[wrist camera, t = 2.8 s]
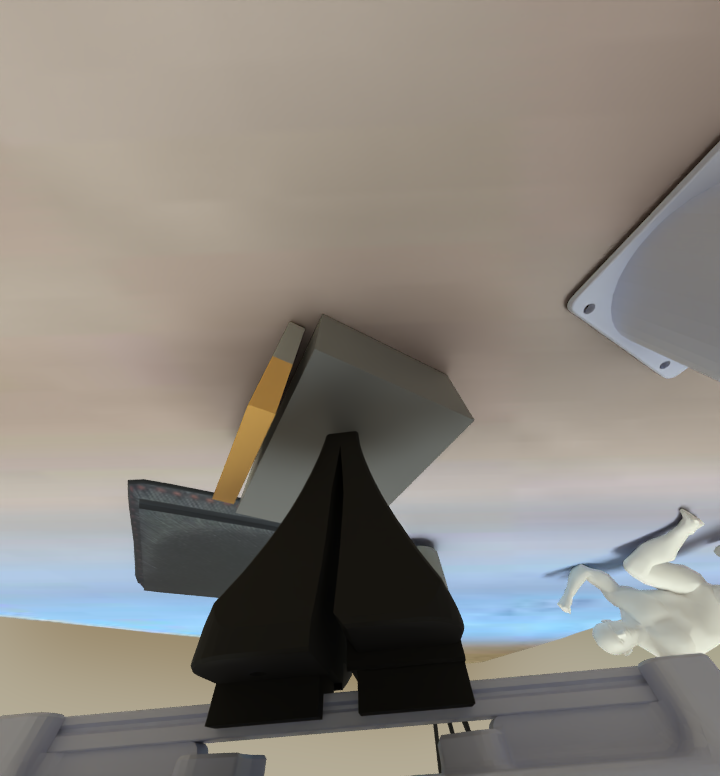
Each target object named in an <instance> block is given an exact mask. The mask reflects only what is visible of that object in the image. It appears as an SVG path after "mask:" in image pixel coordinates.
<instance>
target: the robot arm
mask: <svg viewBox="0 0 720 776" xmlns="http://www.w3.org/2000/svg"><path fill="white" fill-rule="evenodd" d="M588 304H589V306H588V308H587V309H586V310H584V308H585V307H586V306H587V305H588ZM567 308H568V310H569V311H570V312H572V313H573V314H574V315H576V316H577V317H579V318H580V319H581V320H583V321H584V322H586V323H587V324H588V325H590V326H591V327H593V328H594V329H595V330H597V331H598V332H600V333H601V334H602V335H604V336H605V337H607V338H608V339H609V340H611V341H612V342H614V343H615V344H616V345H618V346H619V347H621V348H622V349H623V350H625V351H626V352H628V353H629V354H630V355H632V356H633V357H635V358H636V359H637V360H639V361H640V362H642V363H643V364H644V365H646V366H647V367H649V368H650V369H651V370H653V371H654V372H656V373H657V374H658V375H660V376H662V377H664V378H667V379H668V378H673V377H675V376H677V375H678V374H680V373H681V372H683V371H684V370H685V369H687V368H688V367H689V368H691V369H693V370H695V371H697V372H699V373H702V374H704V375H706V376H708V377H710V378H712V379H714V380H717V381H719V382H720V141H719V142H718V143H717V144H716V145H715V146H714V148H713V149H712V150H711V151H710V152H709V153H708V154H707V155H706V156H705V157H704V158H703V159H702V160H701V161H700V162H699V163H698V164H697V165H696V167H695V168H694V169H693V170H692V171H691V172H690V173H689V174H688V175H687V176H686V177H685V178H684V179H683V180H682V181H681V182H680V183H679V184H678V185H677V187H676V188H675V189H674V190H673V191H672V192H671V193H670V194H669V195H668V196H667V197H666V198H665V199H664V200H663V201H662V202H661V203H660V204H659V206H658V207H657V208H656V209H655V210H654V211H653V212H652V213H651V214H650V215H649V216H648V217H647V218H646V219H645V220H644V221H643V222H642V223H641V224H640V226H639V227H638V228H637V229H636V230H635V231H634V232H633V233H632V234H631V235H630V236H629V237H628V238H627V239H626V240H625V241H624V242H623V243H622V245H621V246H620V247H619V248H618V249H617V250H616V251H615V252H614V253H613V254H612V255H611V256H610V257H609V258H608V259H607V260H606V261H605V262H604V264H603V265H602V266H601V267H600V268H599V269H598V270H597V271H596V272H595V273H594V274H593V275H592V276H591V277H590V278H589V279H588V280H587V281H586V282H585V284H584V285H583V286H582V287H581V288H580V289H579V290H578V291H577V292H576V293H575V294H574V295H573V296H572V297H571V299H570V300H569V302H568V304H567ZM463 631H464V623H463V620H462V618H461V615H460V613H459V610H458V608H457V606H456V604H455V602H454V600H453V598H452V596H451V594H450V593H449V591H448V589H447V587H446V586H445V584H444V582H443V580H442V578H441V577H440V576H439V574H438V573H437V572H436V571H435V570H434V568H433V567H432V566H431V565H430V563H429V562H428V561H427V560H426V558H425V557H424V556H423V555H422V553H421V552H420V551H419V549H418V548H417V547H416V545H415V544H414V543H413V541H412V540H411V539H410V537H409V536H408V534H407V533H406V532H405V530H404V529H403V527H402V526H401V524H400V523H399V521H398V520H397V519H396V517H395V515H394V514H393V512H392V511H391V509H390V507H389V506H388V504H387V502H386V501H385V499H384V497H383V496H382V494H381V492H380V490H379V488H378V486H377V484H376V482H375V480H374V478H373V476H372V474H371V472H370V470H369V468H368V465H367V463H366V460H365V458H364V455H363V452H362V449H361V446H360V440H359V434H358V432H356V431H350V432H342V433H333V434H328V435H327V436H326V439H325V442H324V444H323V447H322V450H321V452H320V454H319V457H318V459H317V461H316V463H315V465H314V468H313V470H312V472H311V474H310V476H309V478H308V480H307V481H306V483H305V485H304V487H303V489H302V491H301V492H300V494H299V496H298V498H297V499H296V501H295V503H294V504H293V506H292V507H291V509H290V511H289V512H288V514H287V515H286V517H285V518H284V520H283V521H282V522H281V524H280V525H279V527H278V528H277V529H276V531H275V532H274V534H273V535H272V536H271V538H270V539H269V540H268V542H267V543H266V544H265V545H264V547H263V548H262V549H261V550H260V552H259V553H258V554H257V555H256V557H255V558H254V559H253V560H252V561H251V563H250V564H249V565H248V566H247V568H246V569H245V570H244V571H243V572H242V573H241V574H240V575H239V577H238V578H237V579H236V580H235V581H234V582H233V583H232V584H231V585H230V586H229V588H228V589H227V590H226V591H225V592H224V593H223V594H222V595H221V596H220V597H219V598H218V599H217V601H216V602H215V603H214V605H213V607H212V609H211V612H210V614H209V616H208V618H207V621H206V623H205V625H204V628H203V631H202V634H201V637H200V640H199V643H198V646H197V648H196V651H195V654H194V657H193V660H192V663H191V668H192V671H193V673H195V674H196V675H198V676H200V677H202V678H205V679H207V680H209V681H211V682H214V683H216V687H215V690H214V694H213V698H212V701H211V704H204V705H192V706H183V707H182V706H181V707H170V708H160V709H148V710H136V711H125V712H114V713H103V714H91V715H80V716H70V717H64V715H62V714H57V713H44V712H41V713H25V714H14V715H3V716H0V776H264V772H265V765H266V758H265V756H264V755H247V754H240V753H217V754H208V748H207V746H206V744H203V743H214V742H226V741H238V740H250V739H262V738H273V737H285V736H297V735H309V734H321V733H333V732H345V731H356V730H368V729H380V728H392V727H404V726H415V725H428V724H439V723H452V722H463V721H475V720H487V719H493V720H492V721H491V723H490V725H489V729H487V730H476V731H468V732H461V733H454V734H447V735H441V737H440V739H439V742H438V750H439V756H440V761H441V771H442V773H439V774H426V775H413V776H720V670H719V669H718V668H717V667H716V665H715V664H714V663H713V662H712V660H711V659H710V658H709V657H708V656H707V655H705V654H703V653H695V654H683V655H672V656H662V657H655V658H651V659H647V660H644V661H642V662H641V663H639V665H638V666H633V667H632V666H631V667H620V668H609V669H598V670H587V671H575V672H564V673H553V674H542V675H530V676H520V677H508V678H497V679H486V680H475V681H470V680H469V676H468V673H467V669H466V665H465V661H466V659H465V654H464V650H463V647H462V643H461V637H462V634H463ZM352 673H353V675H354V676H355V678H356V679H357V681H358V691H350V692H340V693H334V691H336V690H343V688H344V687H345V686H346V684H347V683H348V681H349V679H350V677H351V676H352Z"/></svg>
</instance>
